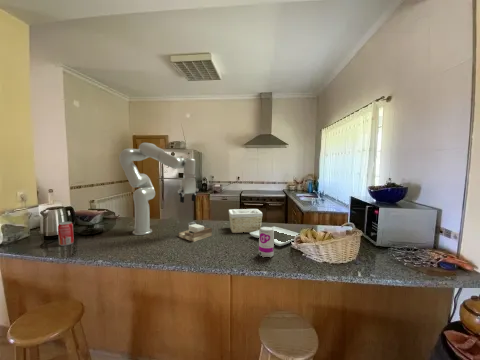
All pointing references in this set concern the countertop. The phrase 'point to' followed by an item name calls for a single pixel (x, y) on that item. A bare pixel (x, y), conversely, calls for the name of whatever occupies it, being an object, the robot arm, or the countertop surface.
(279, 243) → the square plate
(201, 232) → the dock
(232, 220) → the storage basket
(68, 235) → the soda can
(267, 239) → the supplement can
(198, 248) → the countertop surface
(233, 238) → the countertop surface
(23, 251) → the countertop surface
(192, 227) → the cream rod-topped slab
